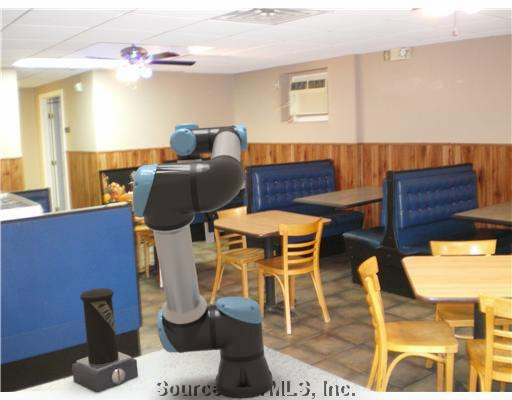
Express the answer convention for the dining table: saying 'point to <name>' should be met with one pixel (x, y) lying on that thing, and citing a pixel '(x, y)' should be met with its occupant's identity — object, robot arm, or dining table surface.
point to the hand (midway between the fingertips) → (195, 241)
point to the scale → (104, 372)
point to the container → (100, 325)
